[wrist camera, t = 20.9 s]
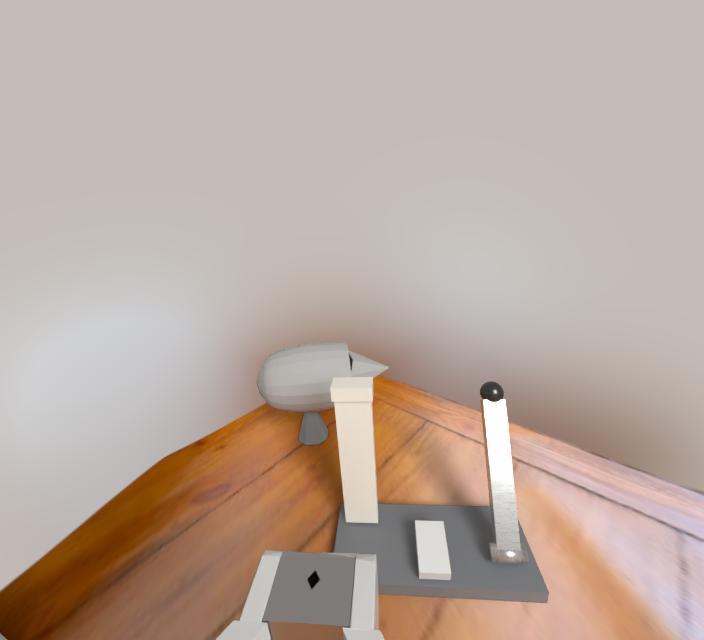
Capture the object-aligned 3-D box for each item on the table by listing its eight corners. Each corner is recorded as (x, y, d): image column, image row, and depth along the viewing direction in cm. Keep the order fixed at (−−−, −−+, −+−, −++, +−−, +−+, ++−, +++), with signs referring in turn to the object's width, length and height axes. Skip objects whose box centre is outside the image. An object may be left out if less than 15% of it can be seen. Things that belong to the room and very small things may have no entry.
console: (547, 602, 34) (548, 592, 33) (330, 591, 36) (329, 581, 36) (511, 516, 43) (512, 507, 43) (341, 511, 46) (341, 502, 45)
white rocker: (451, 580, 35) (452, 573, 34) (418, 578, 35) (418, 572, 35) (443, 527, 39) (444, 521, 39) (414, 526, 40) (414, 520, 39)
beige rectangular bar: (379, 526, 41) (372, 388, 35) (343, 525, 42) (330, 388, 36) (379, 509, 44) (372, 376, 37) (346, 508, 44) (333, 377, 38)
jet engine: (362, 479, 51) (354, 376, 45) (256, 449, 59) (238, 358, 53) (392, 422, 63) (389, 336, 58) (302, 403, 72) (291, 326, 66)
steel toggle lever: (531, 569, 35) (510, 380, 39) (494, 567, 35) (477, 381, 39) (521, 557, 37) (502, 381, 41) (487, 556, 38) (472, 382, 42)
